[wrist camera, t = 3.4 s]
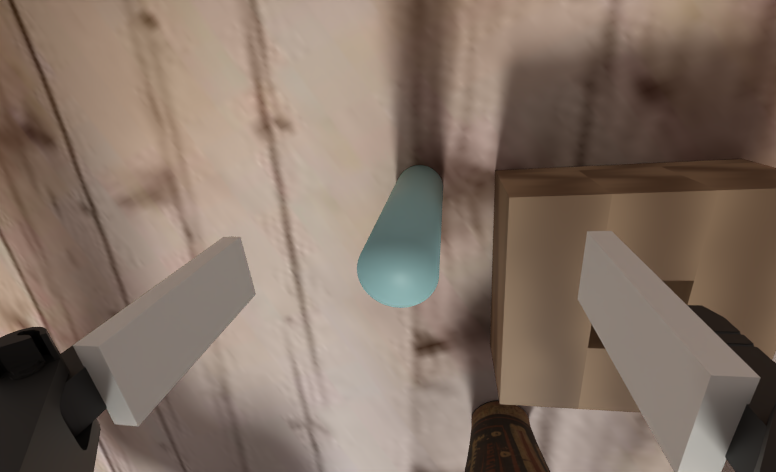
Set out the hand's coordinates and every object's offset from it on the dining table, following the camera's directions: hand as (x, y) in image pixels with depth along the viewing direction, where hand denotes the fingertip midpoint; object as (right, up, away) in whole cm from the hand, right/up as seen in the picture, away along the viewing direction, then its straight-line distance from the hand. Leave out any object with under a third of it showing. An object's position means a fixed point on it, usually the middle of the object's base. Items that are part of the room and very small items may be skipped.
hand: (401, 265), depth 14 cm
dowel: (+2, +4, +11) cm, 12 cm away
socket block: (+14, -1, +11) cm, 18 cm away
